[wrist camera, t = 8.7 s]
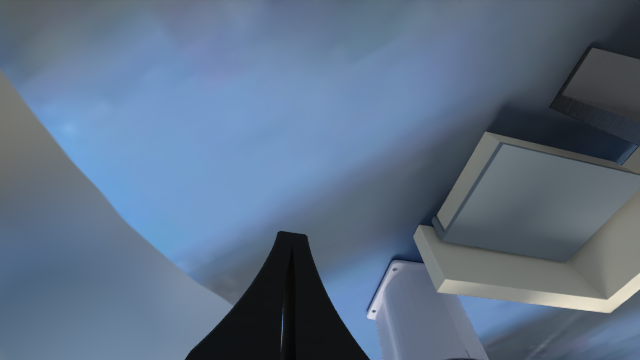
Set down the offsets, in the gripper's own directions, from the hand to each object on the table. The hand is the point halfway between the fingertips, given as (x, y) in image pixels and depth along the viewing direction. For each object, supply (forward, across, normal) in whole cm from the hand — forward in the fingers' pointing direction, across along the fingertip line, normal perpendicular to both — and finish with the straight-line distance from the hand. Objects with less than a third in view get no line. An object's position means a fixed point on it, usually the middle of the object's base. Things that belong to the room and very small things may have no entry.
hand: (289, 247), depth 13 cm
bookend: (+10, -21, -10) cm, 25 cm away
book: (+10, -19, 0) cm, 21 cm away
